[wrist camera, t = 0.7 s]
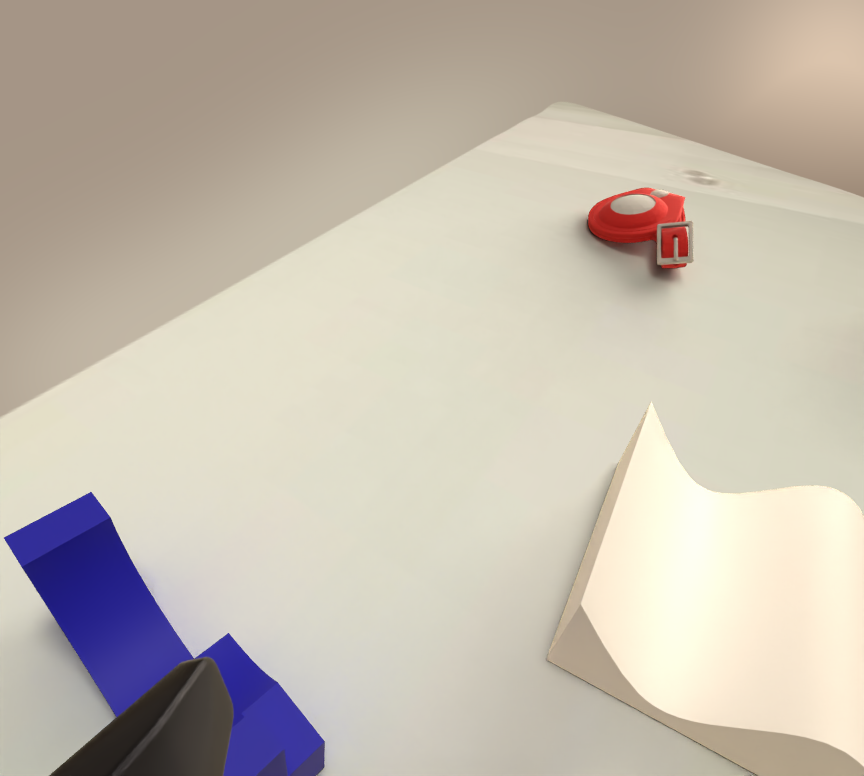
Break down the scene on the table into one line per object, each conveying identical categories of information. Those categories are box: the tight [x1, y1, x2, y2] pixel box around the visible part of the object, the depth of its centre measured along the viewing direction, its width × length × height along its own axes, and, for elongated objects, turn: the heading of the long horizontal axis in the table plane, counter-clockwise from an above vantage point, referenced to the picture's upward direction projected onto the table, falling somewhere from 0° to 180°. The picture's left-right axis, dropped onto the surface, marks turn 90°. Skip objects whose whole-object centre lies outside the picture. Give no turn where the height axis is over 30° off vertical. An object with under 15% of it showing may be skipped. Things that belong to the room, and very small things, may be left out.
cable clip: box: [4, 492, 325, 776], centre depth 22 cm, size 12×4×6 cm, turn 46°
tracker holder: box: [588, 188, 693, 268], centre depth 55 cm, size 12×4×10 cm
